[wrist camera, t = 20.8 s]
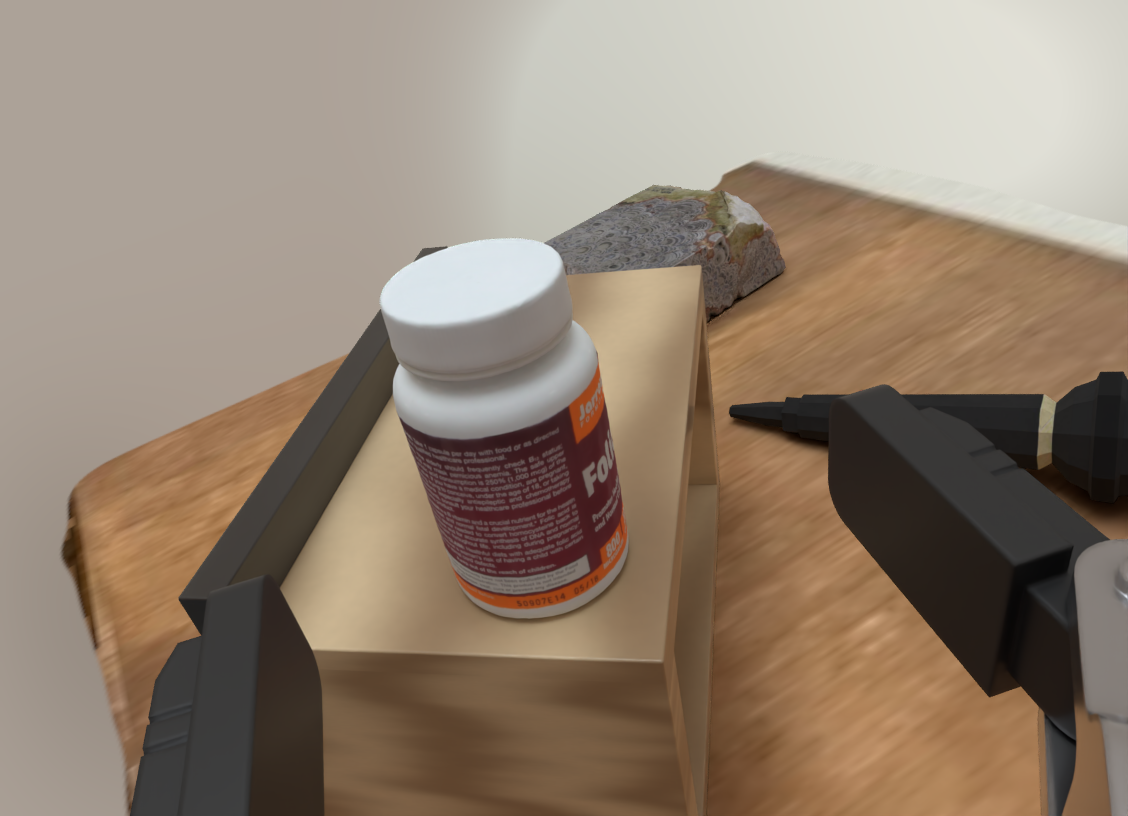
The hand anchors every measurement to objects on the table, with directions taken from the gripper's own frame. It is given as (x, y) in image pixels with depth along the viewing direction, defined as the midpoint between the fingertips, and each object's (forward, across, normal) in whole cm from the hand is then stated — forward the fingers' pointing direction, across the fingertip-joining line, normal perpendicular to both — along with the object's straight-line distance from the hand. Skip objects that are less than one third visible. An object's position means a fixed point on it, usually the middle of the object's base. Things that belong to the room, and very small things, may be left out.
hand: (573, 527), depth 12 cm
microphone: (+19, +21, -20) cm, 35 cm away
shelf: (+15, 0, -20) cm, 25 cm away
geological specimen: (+42, +14, -20) cm, 48 cm away
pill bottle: (+8, 0, -8) cm, 11 cm away
